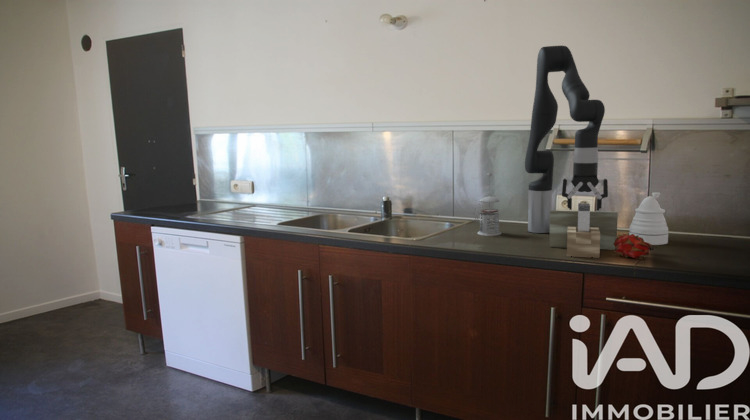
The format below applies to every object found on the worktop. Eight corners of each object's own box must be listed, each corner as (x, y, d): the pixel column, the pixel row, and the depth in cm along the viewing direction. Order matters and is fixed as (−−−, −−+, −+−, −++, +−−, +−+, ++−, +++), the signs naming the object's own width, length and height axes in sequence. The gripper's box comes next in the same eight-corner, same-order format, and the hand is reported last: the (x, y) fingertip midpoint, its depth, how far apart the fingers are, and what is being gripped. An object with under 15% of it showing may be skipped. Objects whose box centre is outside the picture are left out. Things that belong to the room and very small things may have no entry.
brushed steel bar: (577, 237, 187) (578, 203, 185) (588, 238, 186) (589, 203, 184) (577, 241, 180) (578, 206, 179) (588, 242, 179) (590, 206, 177)
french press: (506, 234, 220) (506, 172, 217) (481, 237, 216) (482, 174, 212) (492, 230, 229) (492, 171, 226) (468, 233, 225) (468, 172, 222)
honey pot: (663, 238, 204) (665, 190, 202) (671, 245, 192) (674, 194, 190) (626, 237, 208) (627, 190, 205) (632, 244, 196) (634, 194, 193)
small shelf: (549, 246, 196) (550, 210, 194) (615, 248, 189) (617, 211, 187) (547, 255, 182) (548, 217, 180) (619, 258, 174) (621, 218, 172)
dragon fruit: (610, 259, 180) (649, 269, 174) (607, 248, 174) (648, 258, 167) (617, 237, 183) (656, 245, 176) (615, 225, 176) (656, 234, 169)
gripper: (608, 160, 180) (606, 208, 183) (562, 160, 185) (561, 207, 187) (609, 162, 173) (607, 212, 176) (562, 162, 178) (561, 211, 180)
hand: (583, 209), depth 181 cm, fingers open, 8 cm apart
